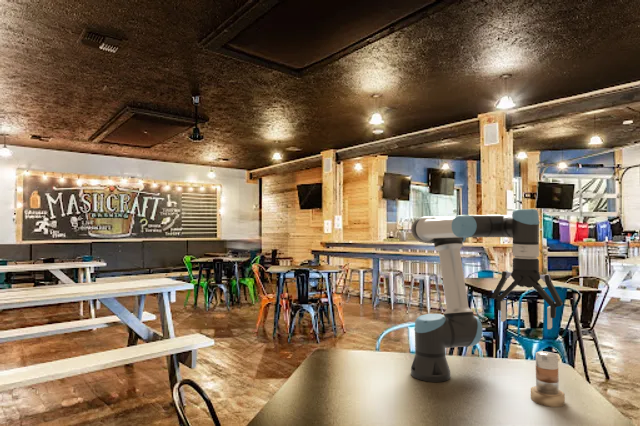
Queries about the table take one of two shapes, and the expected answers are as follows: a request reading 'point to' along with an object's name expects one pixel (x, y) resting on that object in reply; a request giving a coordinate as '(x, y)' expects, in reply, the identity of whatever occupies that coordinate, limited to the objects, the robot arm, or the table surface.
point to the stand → (548, 398)
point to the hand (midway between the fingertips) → (525, 324)
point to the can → (547, 373)
